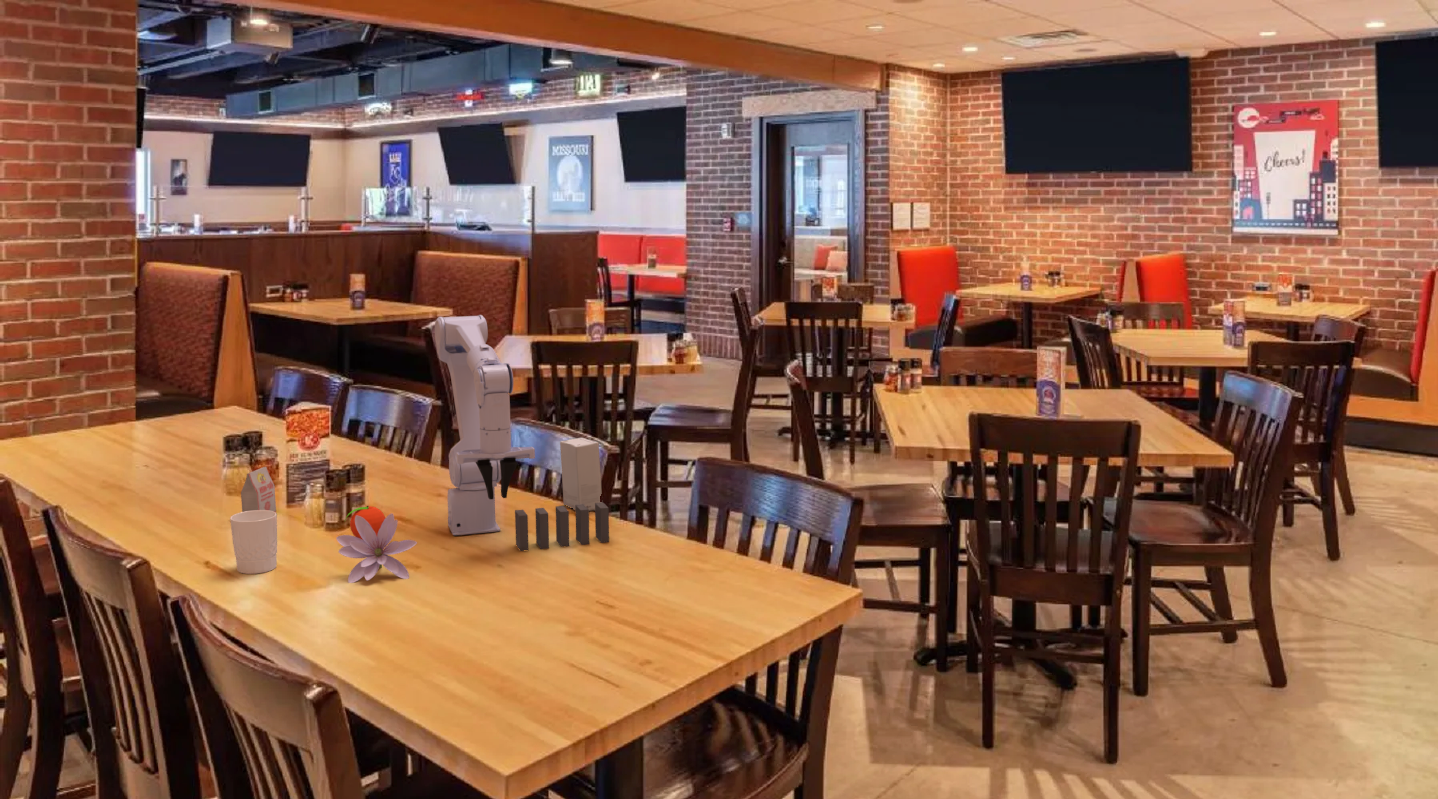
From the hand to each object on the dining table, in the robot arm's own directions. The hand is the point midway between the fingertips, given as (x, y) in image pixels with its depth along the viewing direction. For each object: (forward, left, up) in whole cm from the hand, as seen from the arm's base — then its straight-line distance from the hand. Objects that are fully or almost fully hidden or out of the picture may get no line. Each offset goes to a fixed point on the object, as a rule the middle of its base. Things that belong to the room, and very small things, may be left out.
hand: (497, 497), depth 224 cm
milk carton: (-43, +42, -11) cm, 61 cm away
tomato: (-23, +15, -11) cm, 30 cm away
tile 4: (+17, 0, -10) cm, 20 cm away
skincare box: (+23, +25, -11) cm, 35 cm away
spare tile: (+13, 0, -10) cm, 16 cm away
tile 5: (+21, 0, -10) cm, 23 cm away
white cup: (-43, +4, -11) cm, 45 cm away
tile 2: (+9, 0, -10) cm, 13 cm away
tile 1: (+5, 0, -10) cm, 11 cm away
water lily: (-24, -8, -11) cm, 27 cm away
